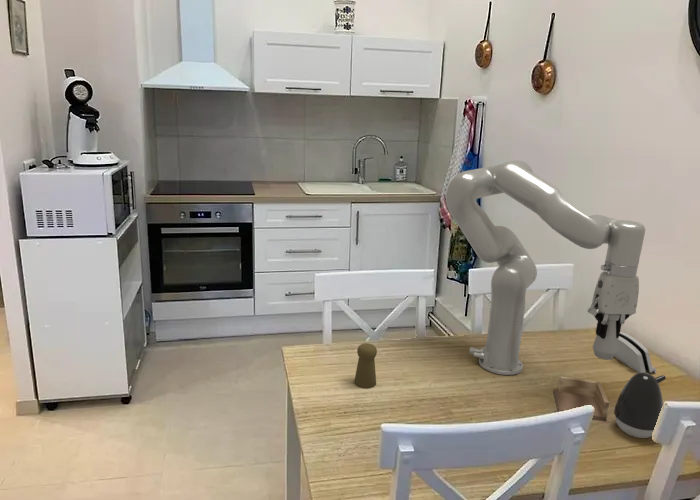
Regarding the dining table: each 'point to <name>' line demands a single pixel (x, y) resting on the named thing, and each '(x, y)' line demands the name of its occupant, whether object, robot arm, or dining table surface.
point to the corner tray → (581, 396)
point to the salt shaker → (607, 340)
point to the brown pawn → (366, 366)
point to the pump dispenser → (639, 405)
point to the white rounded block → (633, 354)
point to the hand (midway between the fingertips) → (607, 335)
